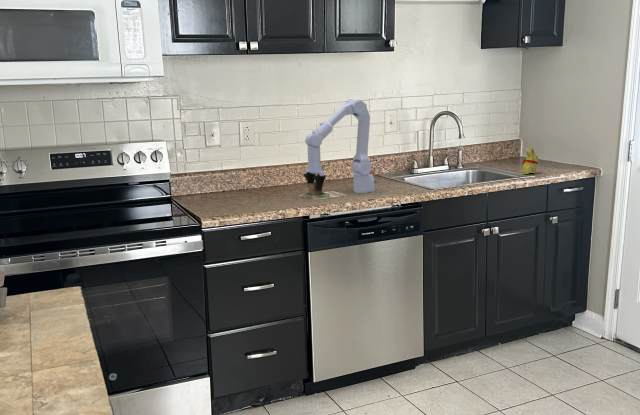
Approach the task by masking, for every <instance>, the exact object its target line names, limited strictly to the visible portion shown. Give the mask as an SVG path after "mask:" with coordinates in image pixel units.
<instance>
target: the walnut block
mask: <svg viewBox="0 0 640 415" xmlns="http://www.w3.org/2000/svg"><path fill="white" fill-rule="evenodd" d="M322 192H323V190H322V191H317V189H316V182H315V181H314V183H309V187H308V193H309V195H310V196H316V195H322Z"/></svg>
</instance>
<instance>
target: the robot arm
mask: <svg viewBox="0 0 640 415" xmlns="http://www.w3.org/2000/svg"><path fill="white" fill-rule="evenodd" d="M348 115H349V116H351V115H353V116H354V117H355V119H356V120H358V121H357V122H358V123H357V133H356V134H357V136H356V147H355V148H356V150H355V155H354V156H353V158H352V162H351V164H350V167H351V171H352V172H353V173H352V174H353V193H357V194H366V193H371V192H375V188H376V187H375V176H374V177H373V175H372V174H369V173H370V171H371V170H372V165H371V159H370V157H369V155H368V152H369V140H370V125H371V124H370V123H371V115H370V113H369V110H368V104H367V103H365V101H363V100H362V99H353V98H349V99H347V100H346V101H345V102H344V103H342V105H341V106H340V107H339V109H337V111H336V112H335V113H334V114H332V116H331V117H330V118H329V119H328V120H327V121H321V122H319V126H317V127H316V128H315V129H313V130H312V133H308V134H307V136H306V137H305V139H304V142H305V144H306V146H307V165H308V166H307V167H305V168H304V169H305V170H304V172H305V173H303V176H304V178H305V180H306V183H307V187H308V188H309V183H315V182H316V189H317V191H322V192H323V185H324V182H325V180H326V178H327V175H326V174H325V170H322V169H321V168H322V167H321V166H322V164H321V163H322V162H321V161H322V160H321V146H322V143H323V140H324V139H325V138H326V137H328V135H329V134H330V133H332V132H333V128H334V127H335V125H337V123H339V122H340V121H341V120H342V119H343V118H344V117H346V116H348Z"/></svg>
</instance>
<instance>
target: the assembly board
mask: <svg viewBox="0 0 640 415" xmlns="http://www.w3.org/2000/svg"><path fill="white" fill-rule="evenodd" d="M298 196H300V197H303V198H306V199H309V200H313V201H317V200H323V199H331V198H337V197H338V198H339V197H345V196H348V195H347V194H345V193H341V192H337V191H334V190H331V191H322V195H316V196H310V195H309V192H304V193H301V194H300V195H298Z"/></svg>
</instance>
